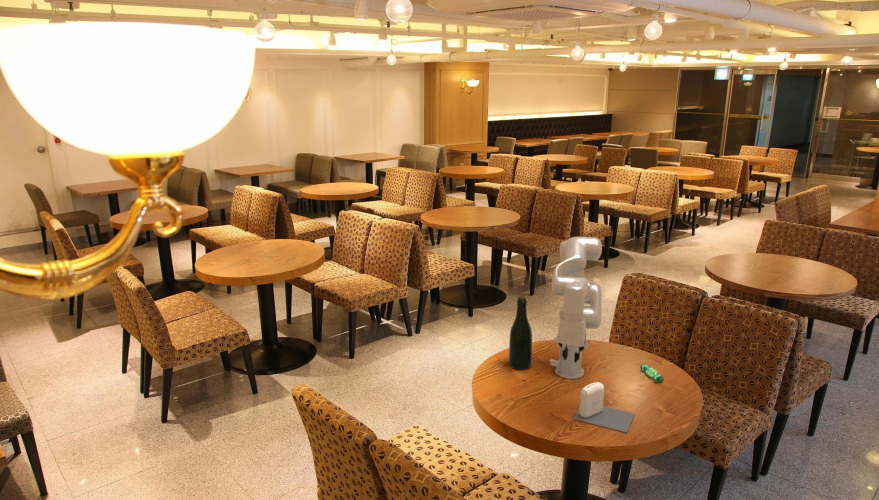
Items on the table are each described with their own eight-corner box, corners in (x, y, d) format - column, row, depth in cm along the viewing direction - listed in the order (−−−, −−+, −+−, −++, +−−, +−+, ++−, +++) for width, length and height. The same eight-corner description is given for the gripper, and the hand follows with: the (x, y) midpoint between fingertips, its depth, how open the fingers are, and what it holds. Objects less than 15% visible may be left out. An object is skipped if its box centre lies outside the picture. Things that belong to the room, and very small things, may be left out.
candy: (638, 369, 260) (643, 361, 260) (643, 372, 262) (649, 364, 261) (654, 382, 249) (659, 374, 249) (659, 385, 250) (665, 377, 250)
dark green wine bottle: (504, 366, 266) (505, 298, 257) (515, 357, 275) (516, 291, 265) (525, 372, 261) (527, 303, 251) (535, 363, 269) (538, 295, 260)
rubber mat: (573, 419, 224) (573, 418, 224) (583, 402, 236) (583, 401, 236) (627, 433, 215) (627, 432, 215) (634, 414, 227) (634, 413, 227)
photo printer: (595, 406, 232) (597, 378, 229) (604, 411, 229) (606, 382, 225) (577, 414, 227) (579, 385, 223) (585, 419, 223) (587, 390, 220)
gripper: (548, 315, 221) (546, 359, 227) (592, 323, 214) (589, 368, 219) (554, 308, 228) (553, 351, 233) (597, 315, 220) (594, 360, 225)
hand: (570, 359), depth 226 cm, fingers open, 3 cm apart
